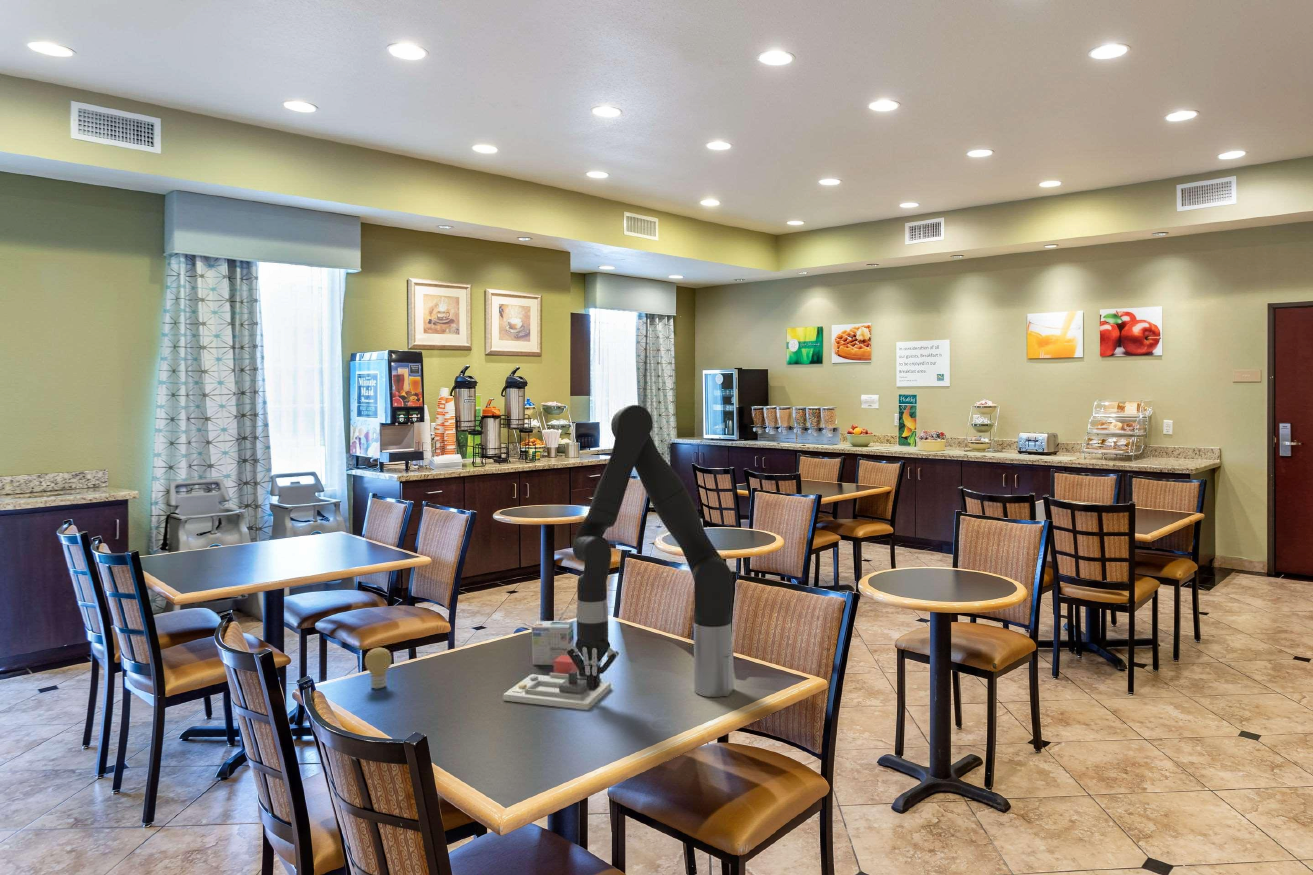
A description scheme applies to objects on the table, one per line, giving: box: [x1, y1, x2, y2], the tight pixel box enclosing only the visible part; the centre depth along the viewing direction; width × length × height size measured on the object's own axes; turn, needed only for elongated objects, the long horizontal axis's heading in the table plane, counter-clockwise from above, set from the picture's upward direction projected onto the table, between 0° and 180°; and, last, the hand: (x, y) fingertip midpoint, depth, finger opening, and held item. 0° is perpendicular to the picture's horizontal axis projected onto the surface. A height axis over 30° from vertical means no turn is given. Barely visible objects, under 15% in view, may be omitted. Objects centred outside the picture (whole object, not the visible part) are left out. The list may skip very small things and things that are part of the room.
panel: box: [502, 671, 612, 711], centre depth 198 cm, size 22×15×7 cm
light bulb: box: [364, 647, 393, 690], centre depth 204 cm, size 6×6×10 cm
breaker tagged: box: [559, 671, 587, 695], centre depth 194 cm, size 5×5×5 cm
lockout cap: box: [553, 655, 579, 674], centre depth 210 cm, size 5×5×5 cm
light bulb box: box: [531, 620, 575, 666], centre depth 223 cm, size 11×7×11 cm, turn 84°
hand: (593, 689), depth 193 cm, fingers closed
